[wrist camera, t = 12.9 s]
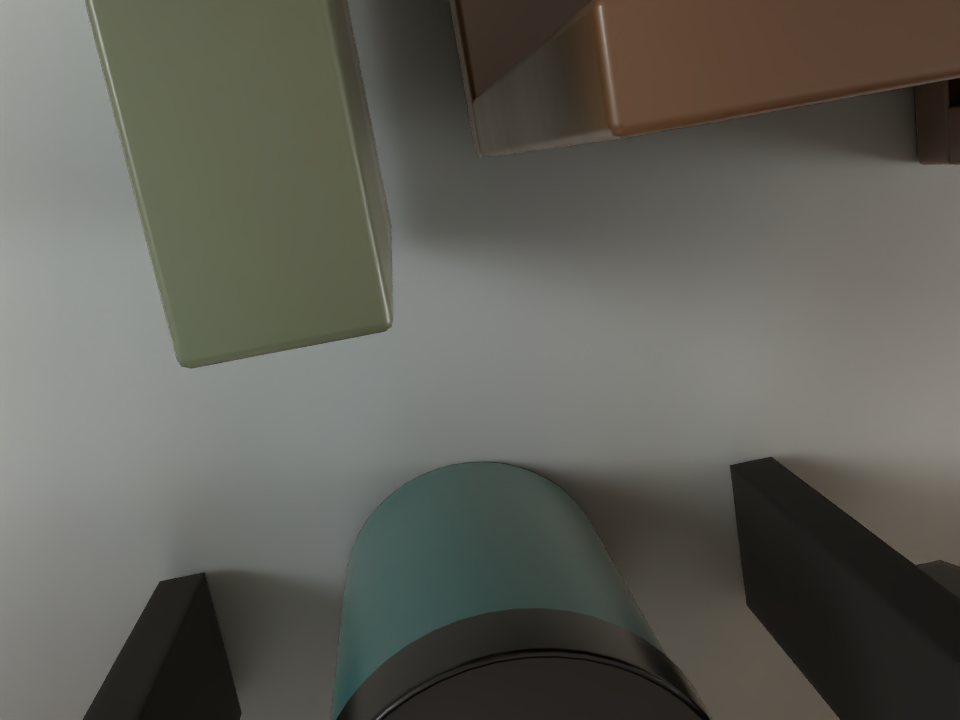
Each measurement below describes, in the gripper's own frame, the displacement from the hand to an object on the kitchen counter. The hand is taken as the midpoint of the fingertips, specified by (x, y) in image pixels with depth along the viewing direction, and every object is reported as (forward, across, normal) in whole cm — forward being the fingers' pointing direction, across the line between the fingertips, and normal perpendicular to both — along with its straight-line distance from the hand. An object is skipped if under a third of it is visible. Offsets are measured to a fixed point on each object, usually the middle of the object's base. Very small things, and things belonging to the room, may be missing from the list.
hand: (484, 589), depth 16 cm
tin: (0, 0, 0) cm, 0 cm away
